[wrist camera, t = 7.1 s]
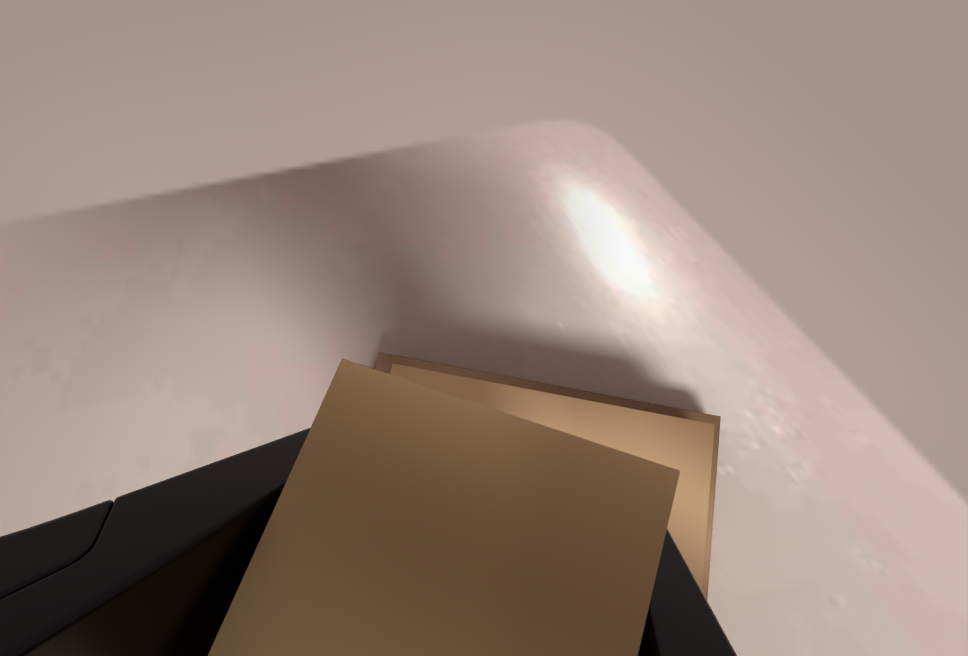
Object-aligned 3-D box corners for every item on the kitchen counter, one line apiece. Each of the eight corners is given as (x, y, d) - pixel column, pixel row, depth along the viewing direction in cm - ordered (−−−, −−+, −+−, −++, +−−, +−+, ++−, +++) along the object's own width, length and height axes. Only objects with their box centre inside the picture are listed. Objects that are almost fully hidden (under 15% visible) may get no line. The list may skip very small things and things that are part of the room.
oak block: (542, 685, 13) (574, 932, 5) (385, 619, 14) (172, 734, 5) (590, 513, 14) (679, 470, 6) (443, 461, 15) (342, 358, 7)
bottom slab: (671, 825, 18) (688, 857, 16) (292, 717, 20) (268, 735, 18) (704, 427, 22) (720, 416, 21) (390, 367, 24) (379, 352, 22)
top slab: (666, 801, 17) (683, 834, 15) (316, 704, 18) (293, 722, 16) (697, 435, 20) (714, 424, 19) (404, 378, 22) (392, 363, 20)
